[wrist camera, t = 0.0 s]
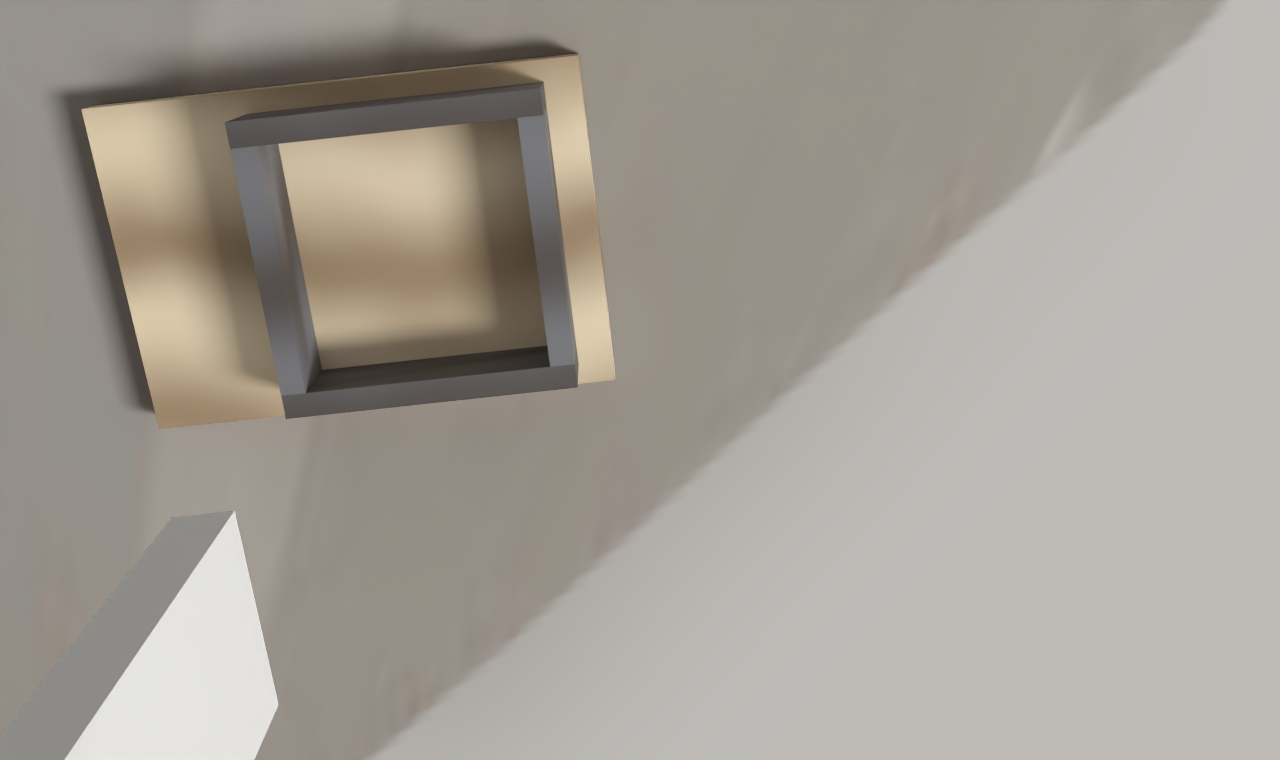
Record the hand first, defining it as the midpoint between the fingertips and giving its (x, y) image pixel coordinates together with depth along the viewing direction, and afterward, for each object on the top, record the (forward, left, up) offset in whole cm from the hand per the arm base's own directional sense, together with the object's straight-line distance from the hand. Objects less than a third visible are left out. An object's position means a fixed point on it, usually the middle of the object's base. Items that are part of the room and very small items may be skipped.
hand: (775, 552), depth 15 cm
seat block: (+1, -10, -28) cm, 30 cm away
